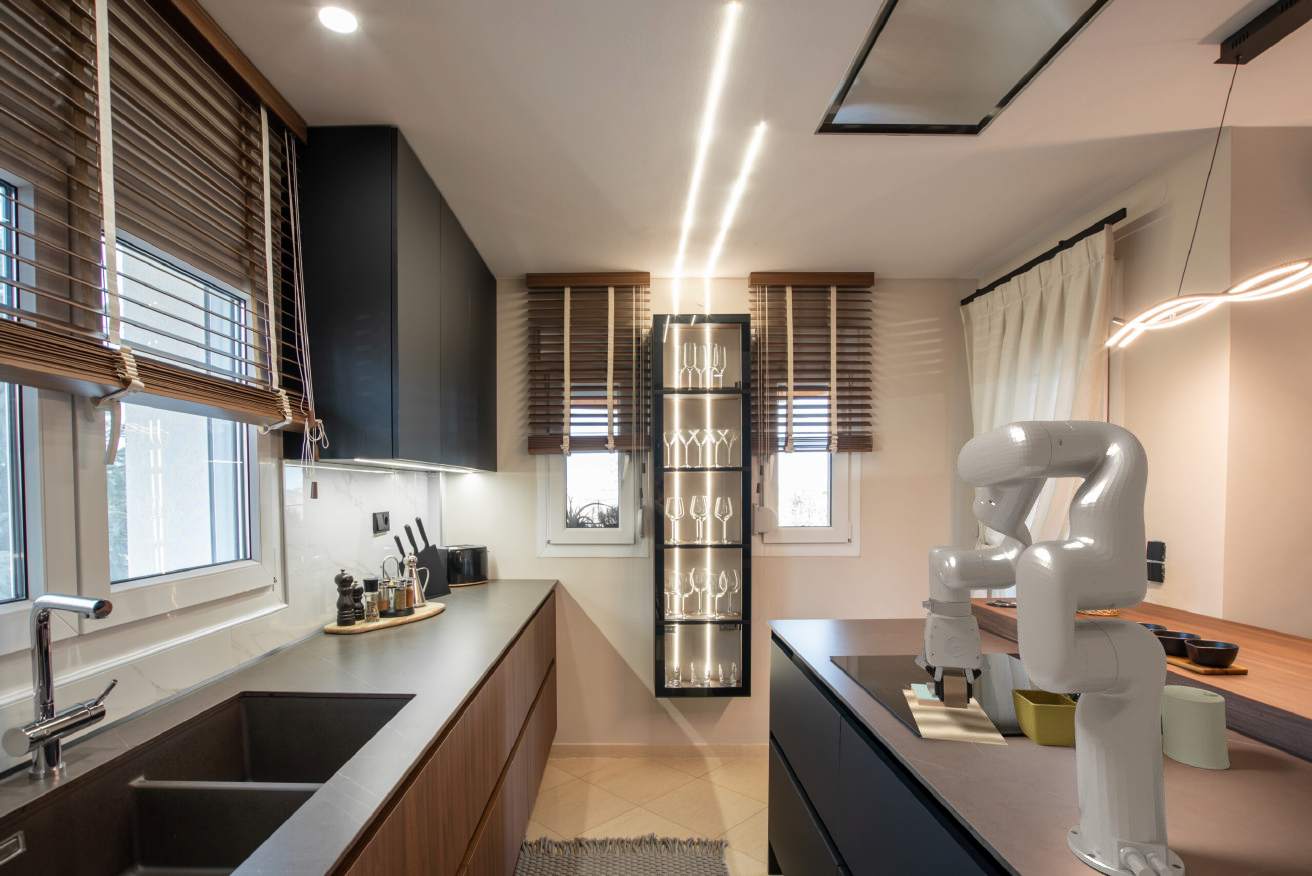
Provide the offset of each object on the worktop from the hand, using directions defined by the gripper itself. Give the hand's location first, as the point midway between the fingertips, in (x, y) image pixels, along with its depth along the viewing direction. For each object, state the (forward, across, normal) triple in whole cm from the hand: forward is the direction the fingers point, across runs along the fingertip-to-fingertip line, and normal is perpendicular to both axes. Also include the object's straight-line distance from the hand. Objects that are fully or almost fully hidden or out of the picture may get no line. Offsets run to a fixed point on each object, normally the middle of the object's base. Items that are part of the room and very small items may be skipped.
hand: (953, 699), depth 123 cm
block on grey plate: (+1, 0, +3) cm, 4 cm away
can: (+7, +40, -1) cm, 41 cm away
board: (+7, +1, +8) cm, 10 cm away
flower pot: (+7, +16, -1) cm, 18 cm away
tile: (+5, -1, +12) cm, 13 cm away
